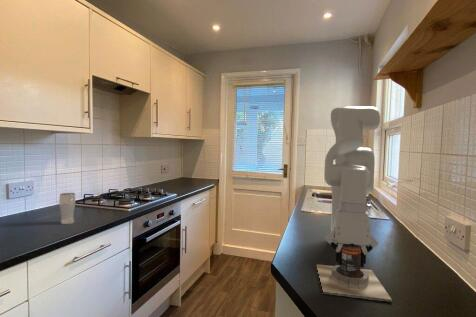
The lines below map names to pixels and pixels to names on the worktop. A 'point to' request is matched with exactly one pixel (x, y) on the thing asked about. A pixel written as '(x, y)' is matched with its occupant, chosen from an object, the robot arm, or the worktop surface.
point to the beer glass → (67, 207)
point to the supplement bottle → (350, 260)
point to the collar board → (351, 283)
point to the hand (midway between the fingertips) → (349, 264)
